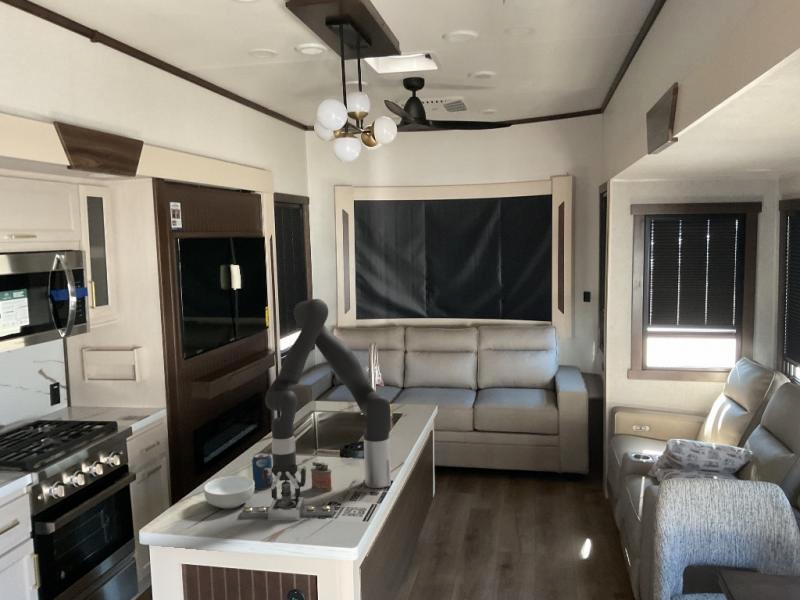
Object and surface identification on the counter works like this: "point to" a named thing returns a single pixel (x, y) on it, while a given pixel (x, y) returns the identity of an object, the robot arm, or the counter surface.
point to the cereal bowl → (229, 491)
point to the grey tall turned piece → (286, 496)
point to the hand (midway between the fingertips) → (286, 498)
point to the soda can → (261, 469)
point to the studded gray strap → (287, 511)
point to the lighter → (321, 477)
